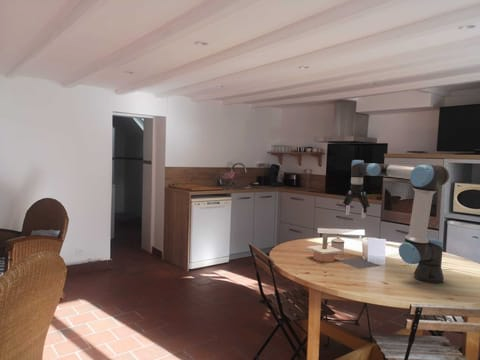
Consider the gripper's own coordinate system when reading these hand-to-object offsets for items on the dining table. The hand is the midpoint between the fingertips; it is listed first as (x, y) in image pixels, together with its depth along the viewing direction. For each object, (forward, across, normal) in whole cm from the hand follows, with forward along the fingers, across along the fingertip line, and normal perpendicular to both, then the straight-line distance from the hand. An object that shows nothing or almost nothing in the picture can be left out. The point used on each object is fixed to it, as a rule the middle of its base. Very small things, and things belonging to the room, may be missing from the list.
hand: (355, 216), depth 238 cm
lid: (+23, +9, +17) cm, 30 cm away
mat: (+29, -7, +2) cm, 30 cm away
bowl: (+29, +9, +17) cm, 35 cm away
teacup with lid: (+29, +20, -3) cm, 36 cm away
